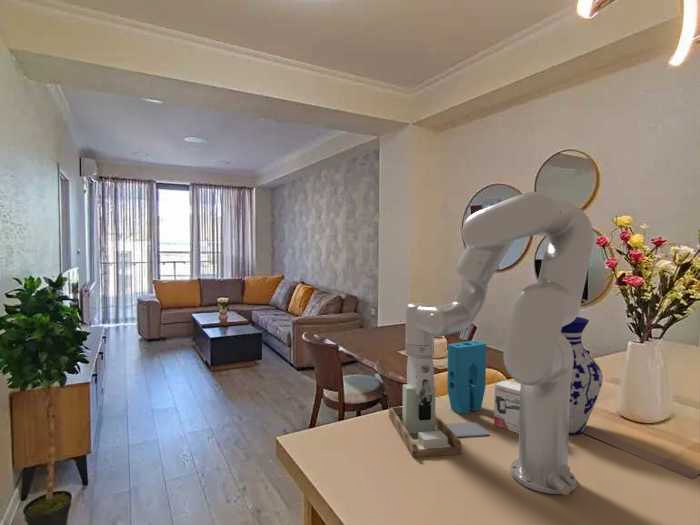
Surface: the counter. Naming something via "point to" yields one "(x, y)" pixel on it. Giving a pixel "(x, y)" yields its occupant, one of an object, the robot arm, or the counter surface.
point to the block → (466, 375)
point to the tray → (411, 445)
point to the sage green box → (416, 412)
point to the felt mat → (467, 429)
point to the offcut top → (432, 439)
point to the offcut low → (419, 446)
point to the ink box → (507, 405)
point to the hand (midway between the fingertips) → (418, 412)
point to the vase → (581, 378)
